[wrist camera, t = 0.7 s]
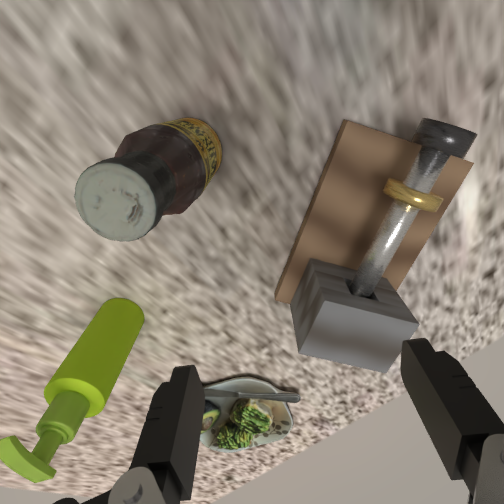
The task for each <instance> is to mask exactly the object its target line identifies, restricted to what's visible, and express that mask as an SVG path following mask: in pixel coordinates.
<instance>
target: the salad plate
mask: <svg viewBox="0 0 504 504" xmlns="http://www.w3.org/2000/svg"><path fill="white" fill-rule="evenodd" d="M203 389H204V393H205V409H204V415H203V422H202V428H201V435H200V441H201V442H202V443H203V444H204V445H205V446H206V447H208V448H210V449H212V450H215V451H219V452H225V453H231V452H237V451H241V450H244V449H248V448H251V447H254V446H259V445H262V444H267V443H271V442H275V441H278V440H281V439H283V438H284V437H285V436H287V435H288V433H289V432H290V430H291V428H292V426H293V424H294V422H293V418H292V416H291V413H290V411H289V408H288V407H287V405H286V402H290V403H297V402H299V401H300V395H299V394H297V393H293V392H285V391H282V390H279V389H277V388H276V387H274V386H273V385H271V384H270V383H268V382H266V381H263V380H260V379H256V378H253V377H238V378H233V379H229V380H225V381H222V382H218V383H214V384H209V385H205V386H203ZM273 416H274V418H273ZM213 428H214V429H213Z"/></svg>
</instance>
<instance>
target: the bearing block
mask: <svg viewBox="0 0 504 504" xmlns="http://www.w3.org/2000/svg"><path fill="white" fill-rule="evenodd" d="M421 147H422V145H419V144H416V143H413V142H410V141H407V140H404V139H401V138H398V137H395V136H392V135H389V134H386V133H383V132H380V131H377V130H374V129H371V128H368V127H365V126H362V125H359V124H356V123H353V122H351V121H348V120H343V123H342V125H341V128H340V130H339V133H338V135H337V138H336V140H335V143H334V145H333V148H332V150H331V153H330V155H329V158H328V160H327V163H326V165H325V168H324V170H323V173H322V175H321V178H320V181H319V183H318V186H317V188H316V191H315V193H314V196H313V198H312V201H311V203H310V206H309V208H308V211H307V213H306V216H305V218H304V221H303V223H302V226H301V228H300V231H299V233H298V236H297V238H296V241H295V243H294V246H293V248H292V251H291V253H290V256H289V258H288V261H287V263H286V266H285V268H284V271H283V273H282V276H281V278H280V281H279V283H278V286H277V288H276V291H275V293H274V294H275V300H276V301H280V302H284V303H288V304H290V307H291V312H292V318H293V324H294V330H295V335H296V341H297V347H298V352H299V354H303V355H307V356H312V357H316V358H321V359H325V360H329V361H334V362H338V363H343V364H347V365H351V366H356V367H360V368H365V369H369V370H373V371H378V372H382V373H387V371H388V370H389V368H390V367H391V365H392V364H393V362H394V361H395V360H396V358H397V357H398V355H399V354H400V352H401V351H402V342H403V340H409V339H410V338H411V336H412V335H413V333H414V332H415V331H416V329H417V328H418V326H419V325H420V324H419V323H418V321H417V320H416V319H415V317H414V316H413V314H412V313H411V312H410V310H409V309H408V307H407V306H406V305H405V303H404V302H403V300H402V299H401V298H400V296H399V295H398V293H397V292H396V291H397V289H398V287H399V286H400V284H401V282H402V281H403V279H404V278H405V276H406V274H407V273H408V271H409V269H410V268H411V266H412V264H413V263H414V261H415V259H416V258H417V256H418V255H419V253H420V251H421V250H422V248H423V246H424V245H425V243H426V241H427V240H428V238H429V236H430V235H431V233H432V232H433V230H434V228H435V227H436V225H437V223H438V222H439V220H440V218H441V217H442V215H443V213H444V212H445V210H446V209H447V207H448V205H449V204H450V202H451V200H452V199H453V197H454V195H455V194H456V192H457V190H458V189H459V187H460V186H461V184H462V182H463V181H464V179H465V177H466V176H467V174H468V172H469V171H470V169H471V167H472V166H473V164H474V163H472V162H469V161H466V160H463V159H461V158H458V157H455V156H452V155H451V156H450V157H449V159H448V161H447V163H446V164H445V166H444V168H443V170H442V171H441V173H440V175H439V177H438V178H437V180H436V182H435V184H434V185H433V187H432V189H431V192H433V193H435V194H437V195H439V196H441V197H442V198H444V200H443V202H442V203H441V205H440V207H439V208H438V210H437V212H429V211H425V210H422V209H420V210H419V212H418V214H417V215H416V217H415V219H414V221H413V222H412V224H411V226H410V228H409V229H408V231H407V233H406V235H405V236H404V238H403V240H402V242H401V243H400V245H399V247H398V249H397V250H396V252H395V254H394V256H393V257H392V259H391V261H390V263H389V265H388V266H387V268H386V270H385V272H384V273H383V275H382V277H381V279H380V280H379V282H378V284H377V286H376V287H375V289H374V291H373V293H372V294H371V296H370V298H369V299H367V298H363V297H360V296H356V295H352V294H351V293H350V291H349V289H348V287H349V285H350V283H351V281H352V279H353V277H354V275H355V274H356V272H357V270H358V268H359V266H360V264H361V262H362V260H363V258H364V256H365V254H366V253H367V251H368V249H369V247H370V245H371V243H372V241H373V239H374V237H375V235H376V233H377V231H378V230H379V228H380V226H381V224H382V222H383V220H384V218H385V216H386V214H387V212H388V210H389V208H390V207H391V205H392V203H393V201H394V198H392V197H390V196H389V195H387V194H386V193H384V192H383V189H384V187H385V185H386V183H387V181H388V179H389V178H394V179H398V180H402V181H404V180H405V178H406V176H407V174H408V172H409V170H410V168H411V166H412V164H413V162H414V161H415V159H416V157H417V155H418V153H419V151H420V149H421Z"/></svg>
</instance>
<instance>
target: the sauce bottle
mask: <svg viewBox="0 0 504 504" xmlns="http://www.w3.org/2000/svg"><path fill="white" fill-rule="evenodd" d="M221 159H222V149H221V144H220V140H219V139H218V136H217V134H216V132H214V130H213V129H212V128H211V127H210V126H209V125H207V124H206V123H205V122H203V121H201V120H198V119H194V118H182V119H177V120H173V121H168V122H164V123H159V124H154V125H150V126H148V127H145V128H143V129H140V130H138V131H136V132H133V133H131V134H128V135H126V136H125V138H124V139H123V141H122V143H121V144H120V146H119V148H118V150H117V152H116V153H115V157H114V158H109V159H106V160H102V161H101V162H98V163H96V164H94V165H92V166H90V167H89V168H87V169H86V170H85V171H84V172H83V173H82V174H81V175H80V177H79V179H78V181H77V184H76V187H75V196H74V197H75V201H76V206H77V209H78V211H79V214H80V216H81V217H82V219H83V220H84V221H85V222H86V224H87V225H89V226H90V227H91V228H92V229H93V230H94V231H95V232H96V233H97V234H99V235H101V236H102V237H105V238H107V239H110V240H117V241H133V240H137V239H139V238H141V237H143V236H145V235H146V234H147V233H148V232H149V231H150V230H152V229H153V228H154V227H155V226H156V225H157V224H158V222H159V221H160V219H161V217H162V216H163V215H172V214H181V213H183V212H184V211H185V210H186V209H187V208H188V207H189V206H190V205H191V204H192V203H193V202H194V201H195V200H196V199H197V198H198V197H199V196H200V195H201V194H202V192H203V191H204V189H205V188H206V186H207V185H208V183H209V182H210V180H211V179H212V177H213V176H214V174H215V173H216V171H217V170H218V168H219V165H220V163H221Z"/></svg>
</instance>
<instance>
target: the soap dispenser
mask: <svg viewBox="0 0 504 504" xmlns="http://www.w3.org/2000/svg"><path fill="white" fill-rule="evenodd" d="M143 323H144V314H143V312H142V310H141V308H140V307H139V306H138V305H137V304H135V303H134V302H132V301H130V300H127V299H123V298H114V299H110V300H108V301H106V302H105V303H104V304H103V305H102V307H101V308H100V309H99V311H98V312H97V314H96V315H95V317H94V318H93V320H92V321H91V322H90V324H89V325H88V327H87V328H86V330H85V331H84V332H83V334H82V335H81V337H80V338H79V340H78V341H77V342H76V344H75V345H74V347H73V348H72V350H71V351H70V352H69V354H68V355H67V357H66V358H65V360H64V361H63V363H62V364H61V365H60V367H59V368H58V370H57V371H56V373H55V374H54V375H53V377H52V378H51V380H50V381H49V383H48V384H47V385H46V387H45V389H44V397H45V399H46V401H47V403H48V404H49V407H48V409H47V410H46V412H45V413H44V415H43V416H42V418H41V419H40V421H39V422H38V424H37V426H36V433H37V435H38V436H39V437H40V440H39V441H38V443H37V445H36V446H35V448H34V449H33V451H32V453H30V452H29V451H28V450H27V449H26V448H25V447H24V446H23V445H22V444H21V443H20V441H19V440H18V438H17V437H16V436H15V435H14V436H10V437H6V438H3V439H0V459H1V460H2V461H3V462H4V463H5V464H6V465H7V466H8V467H9V468H10V469H12V470H13V471H14V472H16V473H18V474H19V475H21V476H23V477H24V478H26V479H28V480H30V481H32V482H34V483H37V482H41V481H44V480H48V479H52V478H53V477H54V475H55V473H56V470H55V469H53V468H52V467H50V466H49V463H50V461H51V460H52V458H53V456H54V454H55V452H56V450H57V449H58V447H59V445H61V444H67V443H69V442H71V441H72V440H73V439H74V437H75V435H76V433H77V431H78V429H79V427H80V425H81V423H82V422H83V420H84V418H88V417H92V416H95V415H97V414H99V413H100V412H101V411H102V410H103V408H104V406H105V404H106V402H107V400H108V398H109V396H110V393H111V391H112V389H113V387H114V385H115V383H116V381H117V378H118V376H119V374H120V372H121V370H122V368H123V366H124V363H125V361H126V359H127V357H128V355H129V353H130V351H131V349H132V346H133V344H134V342H135V340H136V338H137V336H138V334H139V331H140V329H141V327H142V325H143Z"/></svg>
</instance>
